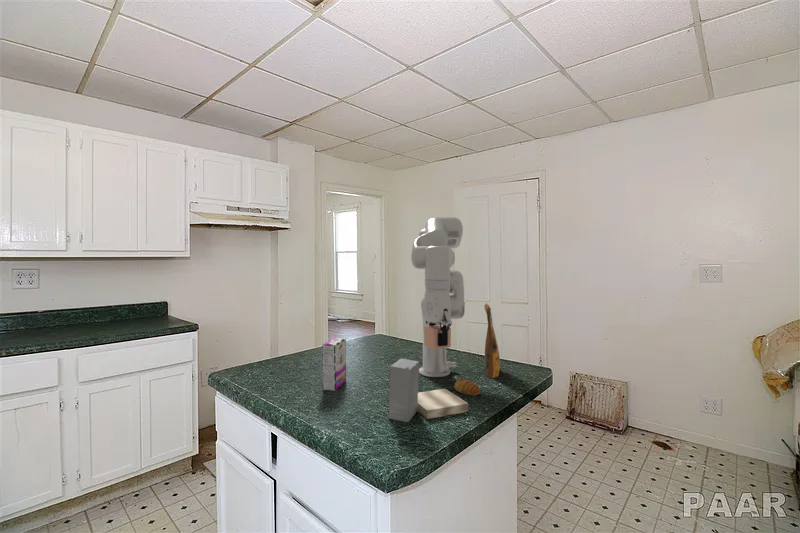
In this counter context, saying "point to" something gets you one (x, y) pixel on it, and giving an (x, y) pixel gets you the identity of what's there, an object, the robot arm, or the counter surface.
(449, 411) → the birch board
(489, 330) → the pancake mix bag
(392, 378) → the skincare box
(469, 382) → the pastry
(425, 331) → the terracotta cube
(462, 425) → the counter surface
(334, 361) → the candy bar box
